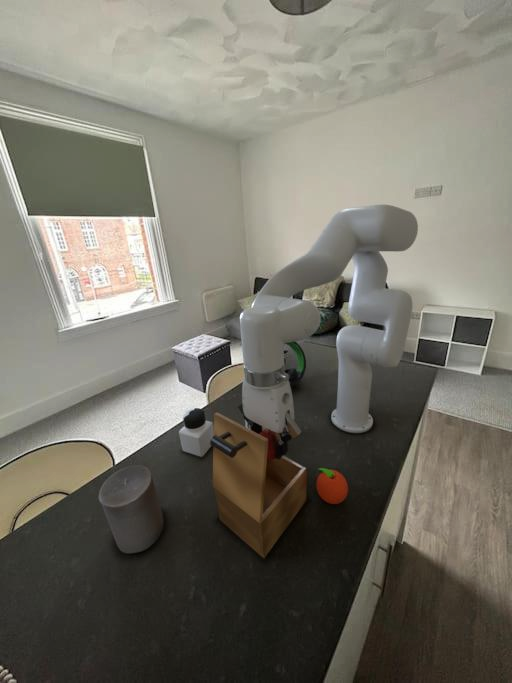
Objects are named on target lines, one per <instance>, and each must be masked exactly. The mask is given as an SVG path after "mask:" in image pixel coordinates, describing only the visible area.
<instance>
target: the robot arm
mask: <svg viewBox="0 0 512 683" xmlns="http://www.w3.org/2000/svg"><path fill="white" fill-rule="evenodd" d="M418 230H419V223H418V220H417V217H416V216H415V215H414V214H413V212H411V211H409V210H406V209H404V208H400V207H398V206H394V205H390V204H374V205H373V204H372V205H365V206H364V205H363V206H354V207H348V208H343V209H340V210H338V211H337V212H336V213H334V215H333V216H332V217H331V218H330V220H329V221H328V223H327V224H326V225H325V227H324V229H323V230H322V231H321V233H320V234H319V236H318V237H317V238H316V240H315V242H314V243H313V244H312V246H311V247H310V248H309V250H308V251H307V253H305V254H304V255H302V256H300V257H298V258H297V259H295V260H293V261H292V262H290V263H288V264H287V265H285V266H284V267H282V268H281V269H279V270H278V271H276V272H275V273H274V274H273V275H272V276H271V277H269V278H268V280H267V281H266V283H264V285H263V286H262V288H261V289H260V290H259V292H258V293H257V295H256V296H255V298H254V300H253V302H252V304H251V307H249V308H245V309H243V311H241V313H240V316H239V329H240V339H241V350H242V351H241V352H242V360H243V371H244V376H243V379H242V380H243V381H242V387H241V388H242V389H241V400H242V401H241V403H240V404H238V406H237V408H238V410H239V411H240V413H241V414H242V418H243V419H244V421H245V420H246V421H247V423H248V424H247V426H248V428H249V429H250V430H252V431H254V432H256V433H257V434H260V433H261V432H262V426H263V427H265V428H267V429H269V430H271V431H274V434H275V436H276V439H277V442H276V443H275V451H276V458H277V459H278V460H279V459H280V458H281V457H282V456H285V455H286V454H287V453H288V451H289V441H291V440H294V439H295V438H298V437H299V436H300V435H301V434H302V430H301V428H300V427H299V425H298V424H297V423H296V421H295V407H294V399H293V393H292V388H290V384H289V381H288V379H289V374H286V373H285V370H286V369H285V368H286V367H285V364H284V361H285V360H284V359H285V345H287V344H286V343H290V342H299V341H304V340H306V339H308V338H310V337H311V336H313V335H314V334H315V333H316V332H317V331H318V329H319V327H320V324H321V318H322V316H321V312H320V310H319V308H318V306H316V304H314V303H313V302H311V301H309V300H305V299H299V298H292V297H293V296H294V295H296V294H299V293H300V292H302V291H306V290H308V289H313V288H316V287H320V286H325V285H327V284H330V283H332V282H335V281H336V280H338V279H339V278H340V277H342V274H343V273H344V271H345V270H346V268H347V267H348V265H349V263H350V261H351V260H352V263H353V276H352V282H351V288H350V293H349V299H348V307H347V313H348V316H349V317H350V318H351V319H353V320H355V321H357V322H358V321H359V322H363V323H368V324H374V325H379V326H384V329H385V330H382V329H377V328H374V327H373V328H372V327H367V326H363V325H356V324H355V325H353V324H350V325H345V326H344V327H342V328H341V329H340V330H339V331H338V332H337V336H336V340H335V344H336V352H337V358H338V374H337V393H336V408H334V409H333V410H332V412H331V415H330V419H331V422H332V424H333V425H334V426H335V427H336V428H338V429H339V430H341V431H343V432H347V433H350V434H351V433H352V434H361V433H362V434H363V433H366V432H368V431H369V430H371V429H372V427H373V425H374V419H373V417H372V415H371V413H369V411H370V402H371V392H372V391H371V390H372V382H373V369H372V367H371V365H374V366H377V367H381V368H386V369H393V368H396V367H398V365H399V363H400V362H401V360H402V358H403V354H404V350H405V347H406V342H407V337H408V332H409V328H410V324H411V319H412V314H413V298H412V296H411V295H410V293H408V292H407V291H405V290H402V289H394V288H386V284H387V279H388V274H389V267H388V264H387V262H386V260H385V259H384V257H383V255H382V253H380V252H395V253H396V252H404V251H407V250H409V249H410V248H411V246H413V245H414V243H415V241H416V239H417V237H418Z"/></svg>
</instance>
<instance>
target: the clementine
mask: <svg viewBox="0 0 512 683" xmlns="http://www.w3.org/2000/svg"><path fill="white" fill-rule="evenodd" d="M319 470H320V471H321V473H320V474H319V475H318V477H317V478H316V483H315V487H316V491H317V493H318V496H319V497H320V498H321V499H322V500H323V501H324V502H325V503H328V504H330V505H338V504H340V503H342V502H344V501H345V499H346V498H347V495H348V492H349V486H348V482H347V479H346V478H345V476H344V475H343V474H342V473H341V472H339V471H337V470H334V469H328V468H325V467H320V468H318V469H317V471H319Z"/></svg>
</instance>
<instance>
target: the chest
mask: <svg viewBox="0 0 512 683" xmlns="http://www.w3.org/2000/svg"><path fill="white" fill-rule="evenodd" d="M213 488H214V487H213ZM213 490H214V494H215V500H216V507H217V513H218V520H219V521H220V522H221V523H223V524H224V525H225V526H226V527H227V528H228V529H229V530H230V531H232V532H233V533H234V534H235V535H236V536H237V537H238V538H240V539H241V540H242V541H243V542H244V543H245V544H247V546H249V547H250V548H251V549H252V550H253V551H255V552H256V553H257V554H258V555H259V556H260V557H261V558H262V559H265V558H267V555H268V554H269V553H270V551H271V550H272V549H273V547H274V546H275V544H276V543H277V542H278V540H279V539H280V538H281V536H282V535H283V534H284V532H285V531H286V529H287V528H288V527H289V525H290V524H291V522H292V521H293V519H295V517H296V515H297V514H298V513H299V511H300V510H301V509H302V508H303V507H304V505H305V503H306V502H307V467H305V466H304V465H301V464H300V463H298V462H297V461H294V460H292V459H290V458H288V457H287V456H285V455H283V456H282V457H281V458H280V459H279V460H278V459H277V458H275V459H273V460H267V463H266V476H265V489H264V502H263V516H262V521H261V522H260V523H259V522H257V521H256V520H255V519H254V518H252V517H251V516H250V515H248V514H247V513H246V512H245V511H243V510H242V509H241V508H239V507H238V506H237V505H236V504H234V503H233V502H232V501H231V500H229V499H228V498H227V497H225V496H224V495H223V494H222V493H220V492H219V491H218V490H216V489H215V488H214V489H213Z"/></svg>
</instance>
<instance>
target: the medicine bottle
mask: <svg viewBox="0 0 512 683" xmlns="http://www.w3.org/2000/svg"><path fill="white" fill-rule="evenodd" d="M182 420H183V427H181V429H180V430H179V431H178V436H179V441H180V445H181V450H182V452H185V453H187V454H191V455H194V456H197V457H200V458H203V457H204V456H205V454H206V453H207V452H208V451H209V450H210V449H211V447H213V446H212V445H211V444H210V440H211V438H212V437H213V436H214V422H212V421H210V420H206V414H205V411H204V410H203V409H202V408H199V407H193V408H190V409H187V410H186V411H185V412H184V413H183V414H182Z"/></svg>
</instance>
